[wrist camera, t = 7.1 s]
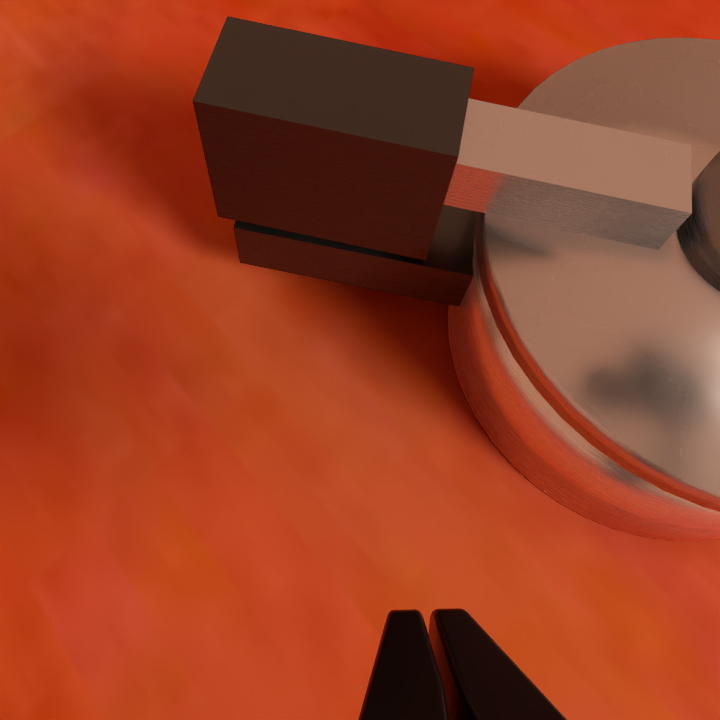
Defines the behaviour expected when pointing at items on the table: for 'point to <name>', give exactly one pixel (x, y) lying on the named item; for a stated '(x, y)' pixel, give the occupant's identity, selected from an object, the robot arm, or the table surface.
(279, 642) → the table surface
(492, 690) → the robot arm
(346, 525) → the table surface
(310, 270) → the pressure pot
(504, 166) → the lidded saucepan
